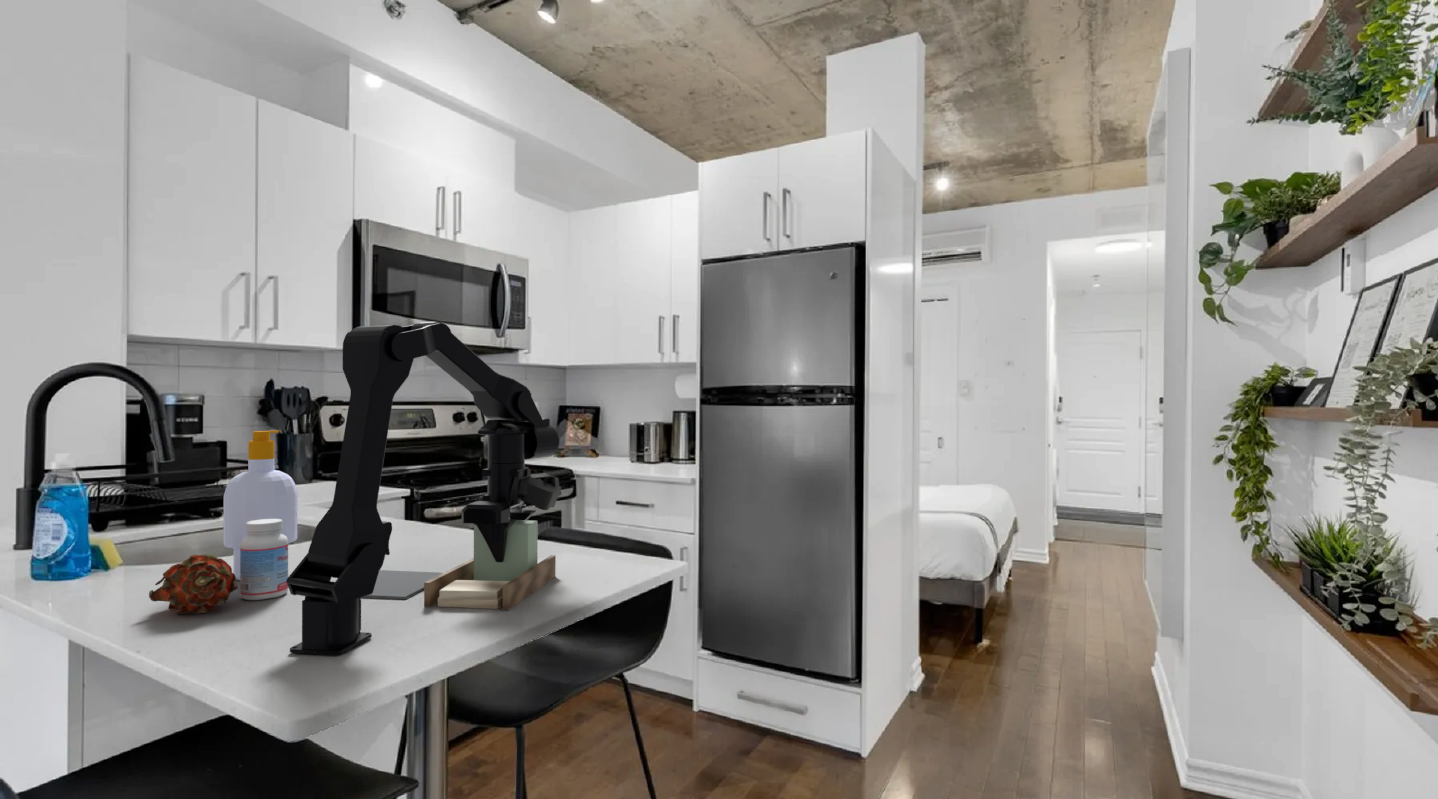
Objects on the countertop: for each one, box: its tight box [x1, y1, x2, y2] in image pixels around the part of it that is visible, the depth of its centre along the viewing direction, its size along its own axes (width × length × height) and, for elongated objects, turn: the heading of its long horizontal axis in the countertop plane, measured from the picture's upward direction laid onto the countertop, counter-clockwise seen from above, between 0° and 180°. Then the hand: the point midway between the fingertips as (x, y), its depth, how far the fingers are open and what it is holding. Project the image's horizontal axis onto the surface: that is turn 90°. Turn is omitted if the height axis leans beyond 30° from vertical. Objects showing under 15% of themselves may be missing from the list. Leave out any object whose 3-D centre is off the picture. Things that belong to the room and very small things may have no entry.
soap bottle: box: [223, 429, 298, 581], centre depth 116 cm, size 10×10×24 cm
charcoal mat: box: [360, 569, 444, 600], centre depth 111 cm, size 14×14×1 cm
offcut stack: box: [437, 580, 509, 610], centre depth 103 cm, size 6×9×2 cm
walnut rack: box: [423, 554, 557, 612], centre depth 109 cm, size 19×13×4 cm, turn 173°
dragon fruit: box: [148, 554, 239, 615], centre depth 98 cm, size 8×8×12 cm
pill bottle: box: [239, 519, 289, 601], centre depth 105 cm, size 6×6×11 cm
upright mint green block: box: [473, 519, 539, 581], centre depth 113 cm, size 4×9×10 cm, turn 83°
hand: (505, 558), depth 113 cm, fingers open, 4 cm apart
